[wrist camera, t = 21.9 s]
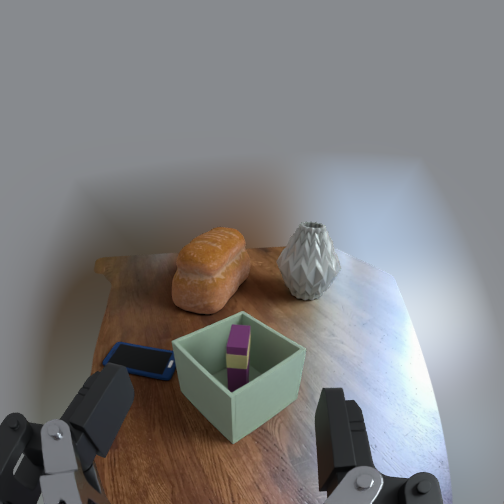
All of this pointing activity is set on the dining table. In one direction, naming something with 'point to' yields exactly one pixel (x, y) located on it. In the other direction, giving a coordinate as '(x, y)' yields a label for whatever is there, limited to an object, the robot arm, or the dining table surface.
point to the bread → (210, 270)
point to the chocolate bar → (238, 356)
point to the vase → (309, 261)
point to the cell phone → (143, 360)
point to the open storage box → (260, 375)
